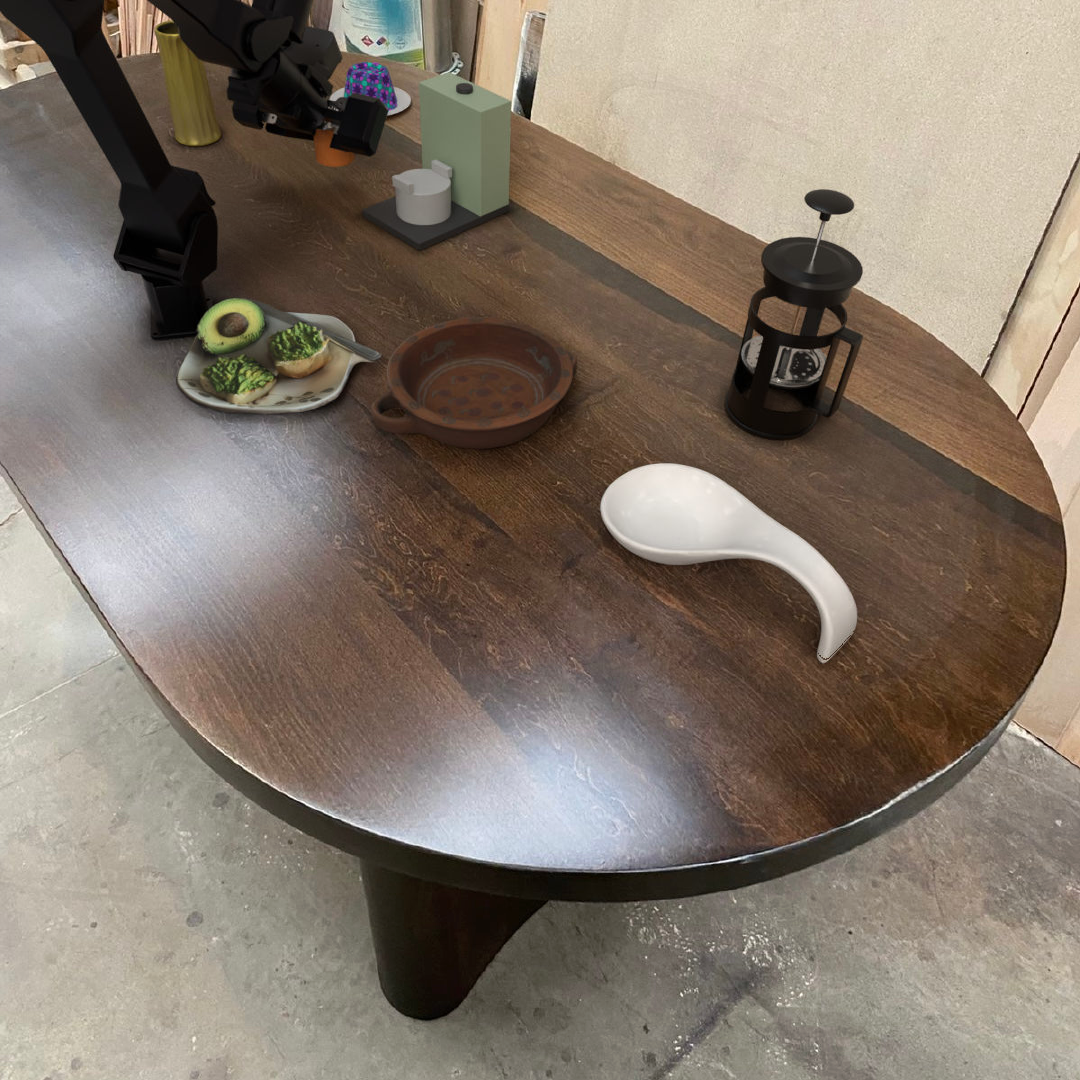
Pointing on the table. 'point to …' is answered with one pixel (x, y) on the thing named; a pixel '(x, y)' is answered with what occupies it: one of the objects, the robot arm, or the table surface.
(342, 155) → the coffee pod
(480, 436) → the dish
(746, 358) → the french press
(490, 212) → the coffee maker
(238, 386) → the avocado toast plate
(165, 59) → the vase
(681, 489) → the spoon rest
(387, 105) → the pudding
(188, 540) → the table surface
